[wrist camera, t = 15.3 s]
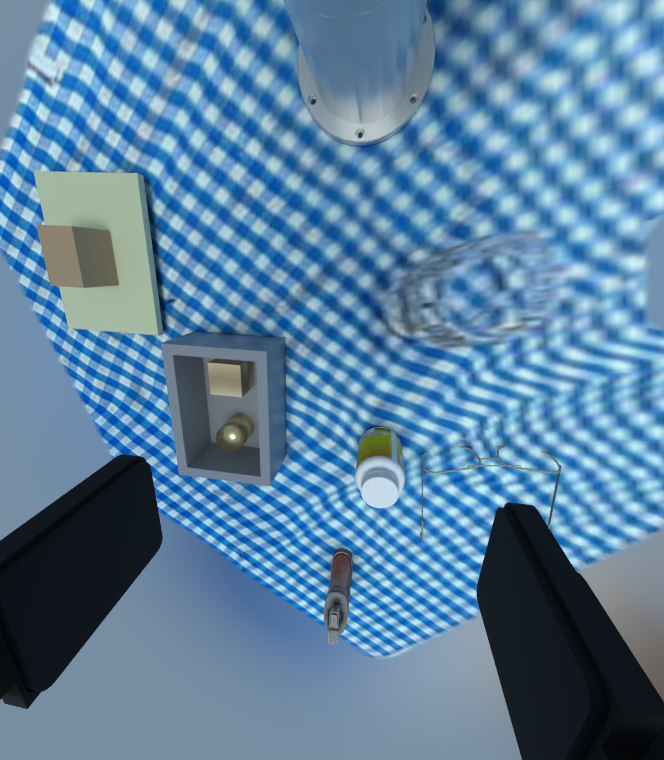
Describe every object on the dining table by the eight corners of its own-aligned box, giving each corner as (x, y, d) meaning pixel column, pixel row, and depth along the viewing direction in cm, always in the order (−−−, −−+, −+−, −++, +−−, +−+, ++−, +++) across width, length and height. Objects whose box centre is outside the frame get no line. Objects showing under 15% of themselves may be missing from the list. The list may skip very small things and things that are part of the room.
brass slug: (228, 412, 45) (214, 425, 41) (254, 414, 44) (242, 428, 41) (230, 435, 46) (217, 450, 42) (255, 438, 46) (243, 453, 42)
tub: (195, 331, 43) (161, 343, 36) (285, 337, 41) (266, 351, 35) (206, 445, 48) (179, 474, 42) (286, 455, 47) (270, 486, 40)
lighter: (350, 587, 53) (344, 656, 44) (330, 584, 54) (319, 651, 45) (354, 549, 51) (348, 614, 41) (332, 546, 51) (321, 609, 42)
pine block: (222, 353, 42) (207, 362, 38) (253, 356, 42) (240, 365, 38) (225, 383, 43) (210, 394, 40) (254, 385, 43) (242, 397, 39)
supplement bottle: (351, 443, 45) (342, 492, 35) (379, 417, 43) (378, 460, 33) (381, 468, 45) (380, 523, 36) (410, 443, 43) (418, 494, 34)
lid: (54, 176, 39) (-18, 157, 32) (152, 178, 37) (99, 159, 30) (84, 324, 45) (29, 335, 38) (170, 331, 43) (129, 344, 36)
